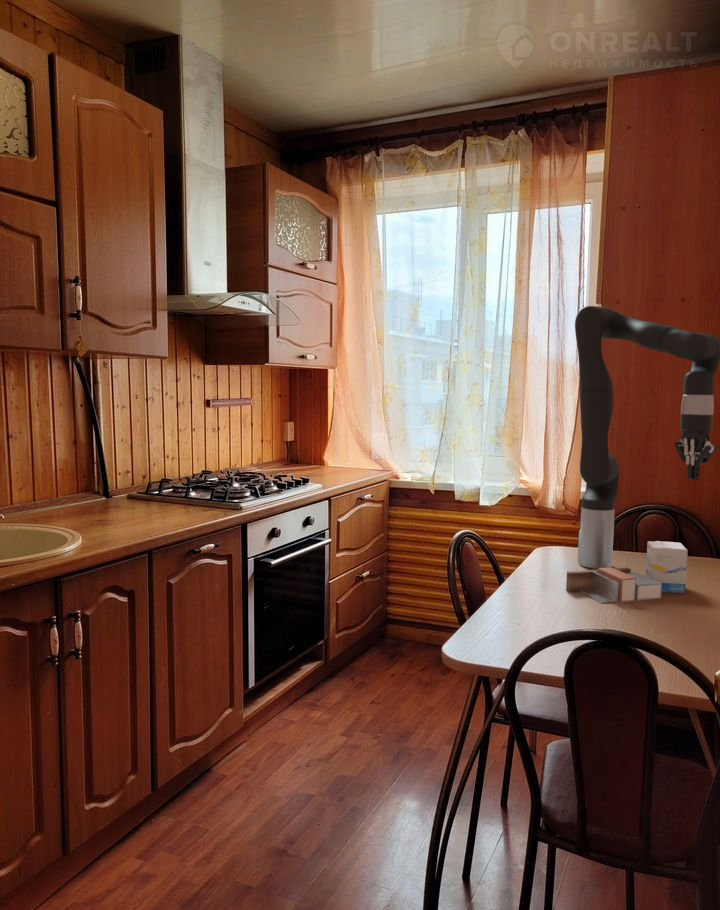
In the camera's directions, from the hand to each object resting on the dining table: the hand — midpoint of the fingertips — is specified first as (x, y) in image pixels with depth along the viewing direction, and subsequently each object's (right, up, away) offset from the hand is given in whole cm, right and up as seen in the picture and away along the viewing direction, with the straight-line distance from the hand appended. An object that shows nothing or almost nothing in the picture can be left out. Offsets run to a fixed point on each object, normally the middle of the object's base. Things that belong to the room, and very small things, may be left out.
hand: (692, 479), depth 181 cm
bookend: (-26, -29, -5) cm, 40 cm away
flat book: (-15, -29, -2) cm, 33 cm away
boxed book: (-21, -30, -3) cm, 37 cm away
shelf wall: (-23, -29, +2) cm, 37 cm away
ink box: (-6, -29, +4) cm, 30 cm away
